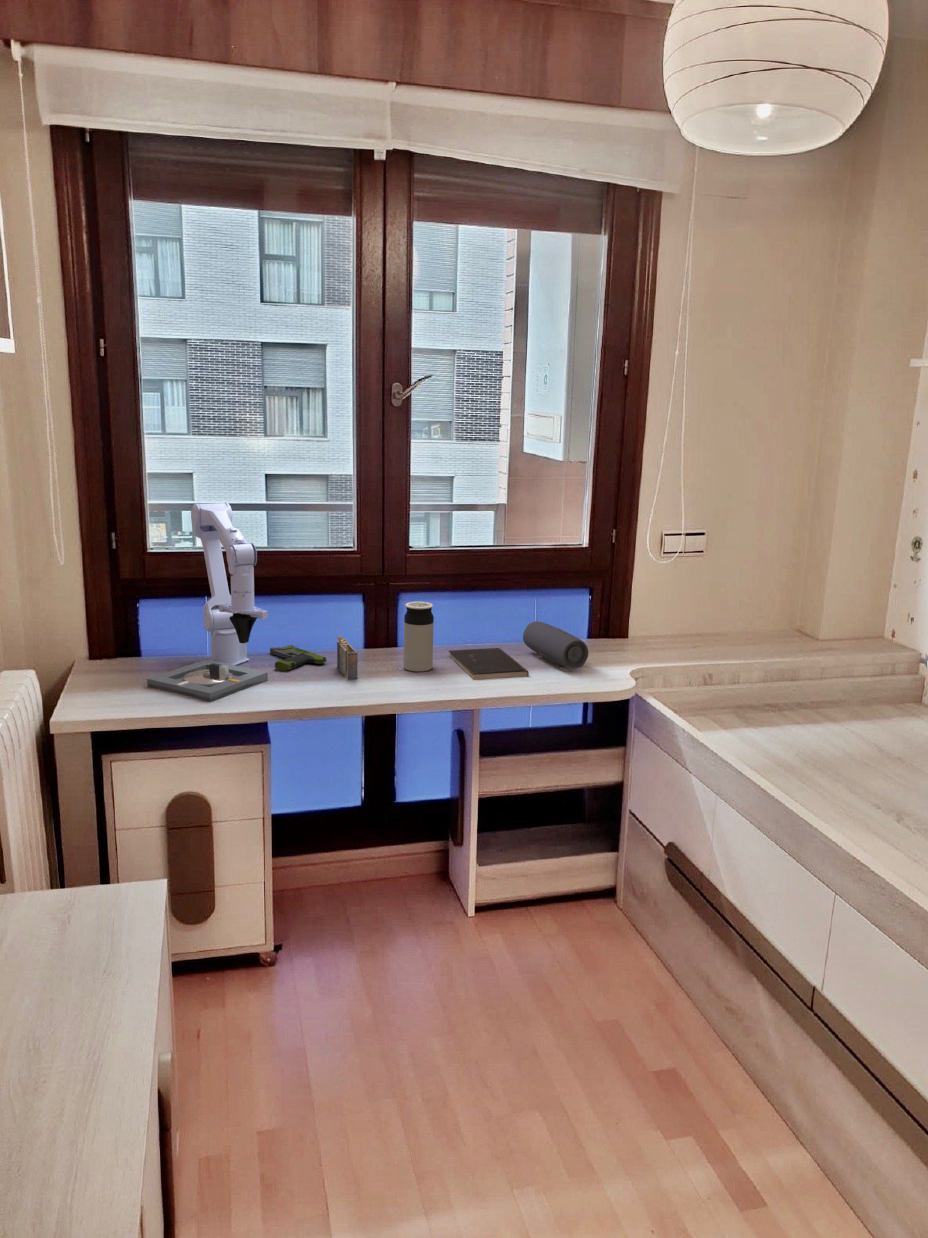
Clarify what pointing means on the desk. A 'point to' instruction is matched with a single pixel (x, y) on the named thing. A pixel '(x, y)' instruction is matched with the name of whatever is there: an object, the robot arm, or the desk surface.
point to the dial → (209, 675)
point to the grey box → (347, 659)
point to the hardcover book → (487, 663)
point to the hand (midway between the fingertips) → (243, 642)
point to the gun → (294, 657)
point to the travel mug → (418, 636)
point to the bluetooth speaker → (555, 645)
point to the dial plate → (177, 685)
